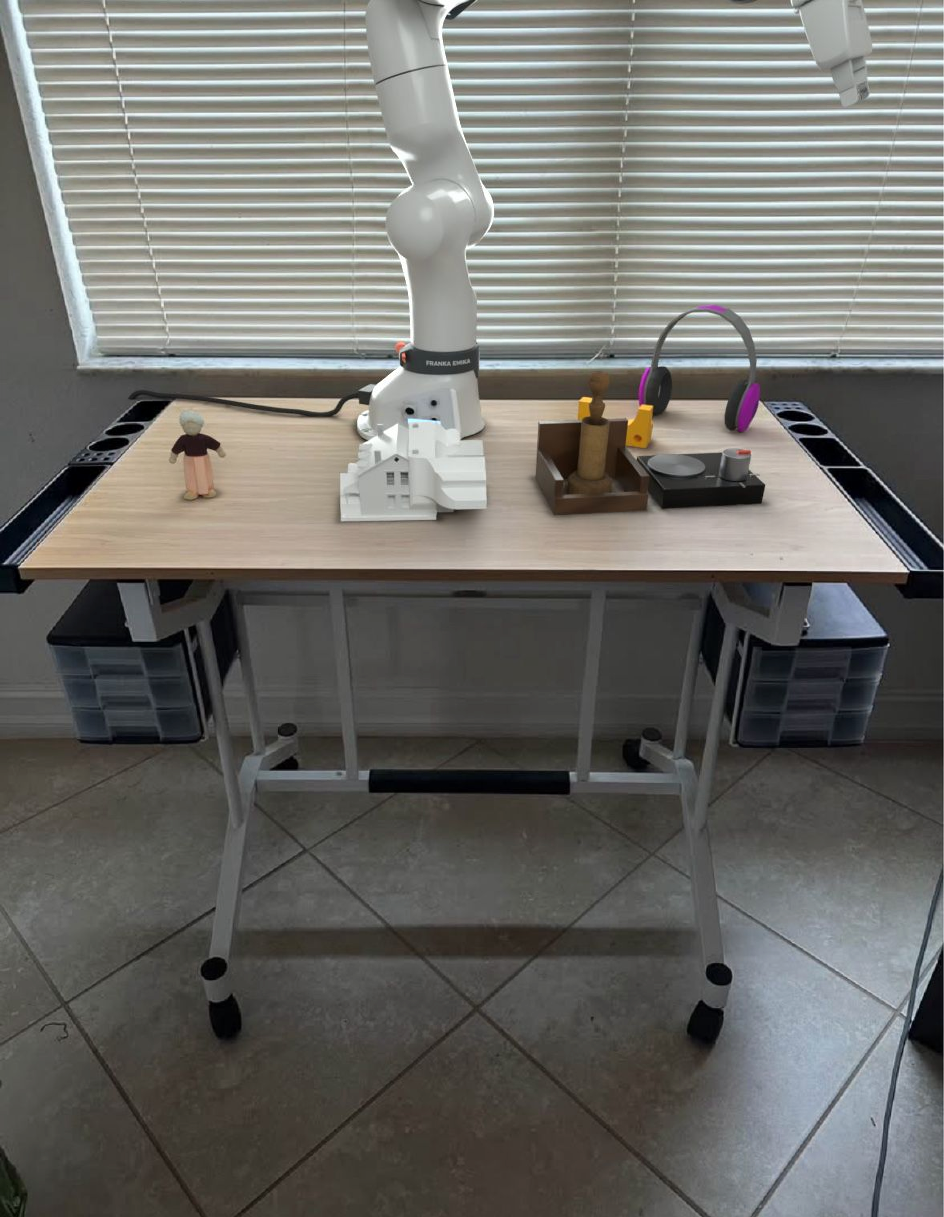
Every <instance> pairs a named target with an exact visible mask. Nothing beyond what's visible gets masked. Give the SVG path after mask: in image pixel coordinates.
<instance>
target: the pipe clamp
mask: <svg viewBox="0 0 944 1217" xmlns="http://www.w3.org/2000/svg"><path fill="white" fill-rule="evenodd" d="M591 401H592V397H590V396H589V397H588V396H582V397H581V398H580V399H579V401H578V410H577V420H582V419H583V418H584V417H589V416H590V411H589V403H590V402H591ZM652 413H653V406H651V405H643V404H642V405H641V406H640V405H639V407H638V409H637V413H636V416H635V418H630V419H628V428H627V437H626V447H634V448H641V449H647V447H648V446H649V443H650V442H651V440H652V434H653V426H654V420H653V415H652Z"/></svg>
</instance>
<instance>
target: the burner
mask: <svg viewBox="0 0 944 1217" xmlns="http://www.w3.org/2000/svg"><path fill="white" fill-rule="evenodd" d="M678 454H679V453H678ZM678 454H677V453H663V454H656V455H657V456H654V457H652V458H650V459H649V460H648V467H649V468H650V469H651V470H652V471H654V472H656V473H658V474H661V475H665V476H670V477H678V478H687V477H694V476H698V475H701V474H702V473H703V472H704V471H705V465H704V463H703V462H701V461H700V460H698V459H696V458H693V457H689V456H685V455H678Z"/></svg>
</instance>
